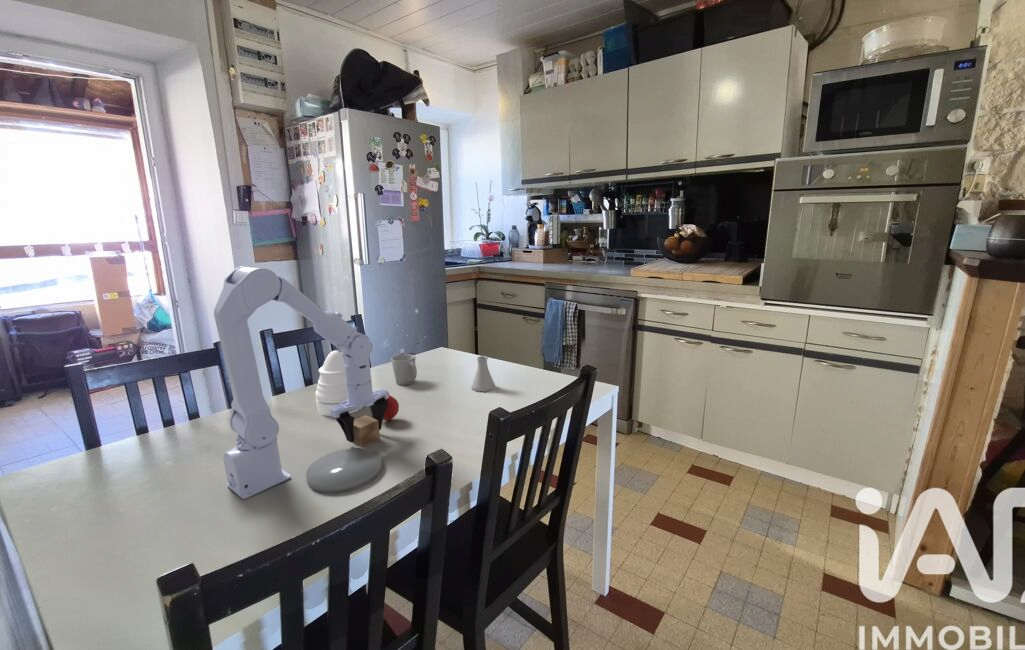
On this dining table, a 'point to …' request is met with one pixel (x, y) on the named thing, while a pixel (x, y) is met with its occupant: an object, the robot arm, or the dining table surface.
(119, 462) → the dining table surface
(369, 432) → the cube
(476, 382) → the flask
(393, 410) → the onion
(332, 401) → the honey pot
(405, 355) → the cup
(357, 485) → the plate
